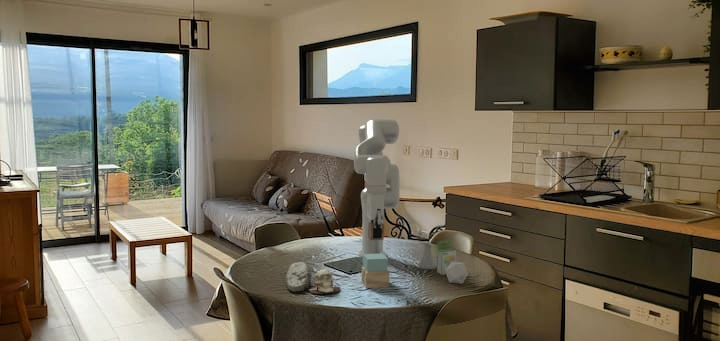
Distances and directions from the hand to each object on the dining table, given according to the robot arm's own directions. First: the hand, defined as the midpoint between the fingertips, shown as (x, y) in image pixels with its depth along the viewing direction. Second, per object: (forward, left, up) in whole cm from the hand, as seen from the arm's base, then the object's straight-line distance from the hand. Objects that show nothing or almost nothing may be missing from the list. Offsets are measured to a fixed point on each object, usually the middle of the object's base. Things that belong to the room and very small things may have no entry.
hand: (375, 236), depth 225 cm
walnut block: (0, 0, -1) cm, 1 cm away
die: (+3, +32, -19) cm, 37 cm away
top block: (0, 0, -13) cm, 13 cm away
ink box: (-9, +32, -19) cm, 38 cm away
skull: (+5, -20, -19) cm, 28 cm away
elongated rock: (-11, -29, -19) cm, 36 cm away
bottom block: (0, 0, -19) cm, 19 cm away
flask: (-19, +27, -19) cm, 38 cm away
